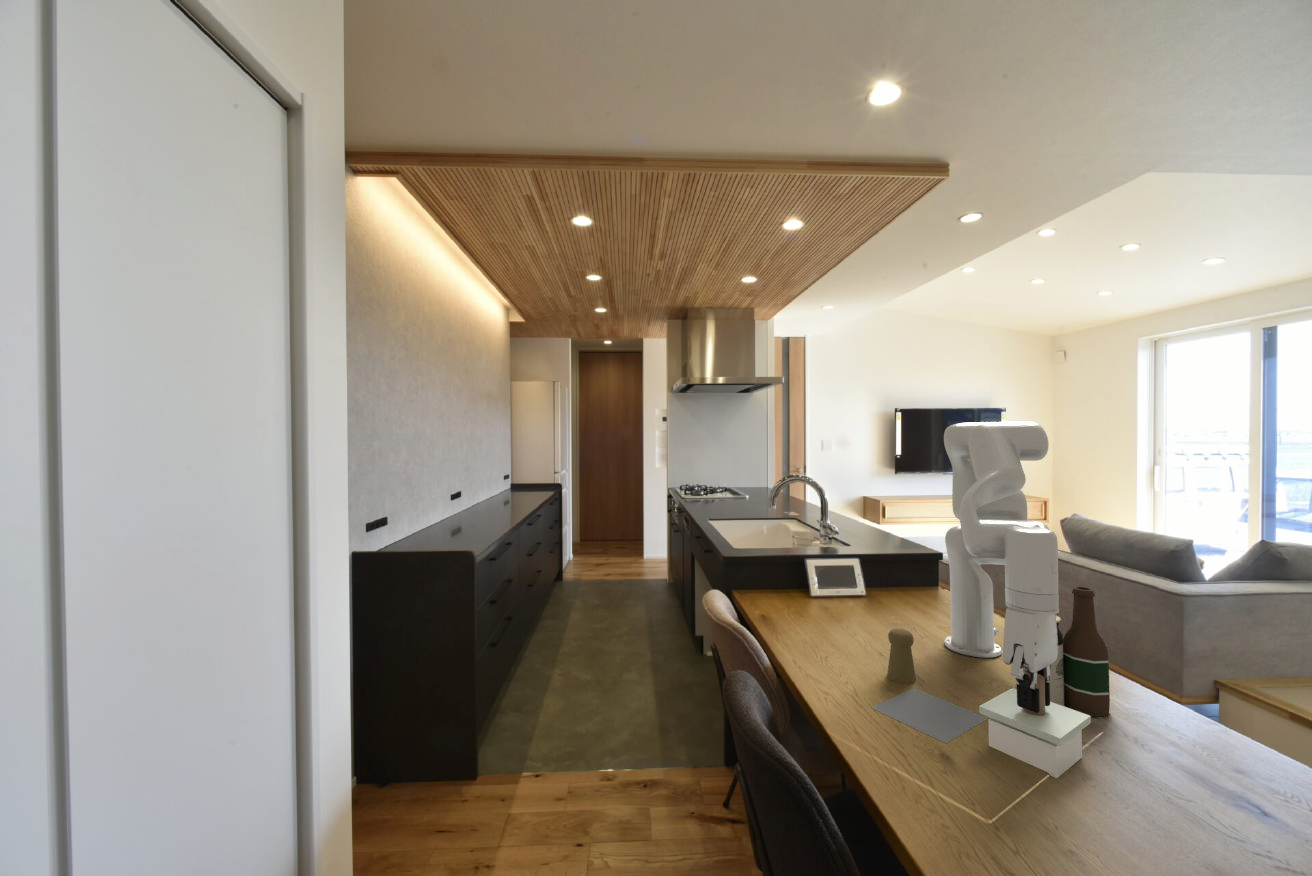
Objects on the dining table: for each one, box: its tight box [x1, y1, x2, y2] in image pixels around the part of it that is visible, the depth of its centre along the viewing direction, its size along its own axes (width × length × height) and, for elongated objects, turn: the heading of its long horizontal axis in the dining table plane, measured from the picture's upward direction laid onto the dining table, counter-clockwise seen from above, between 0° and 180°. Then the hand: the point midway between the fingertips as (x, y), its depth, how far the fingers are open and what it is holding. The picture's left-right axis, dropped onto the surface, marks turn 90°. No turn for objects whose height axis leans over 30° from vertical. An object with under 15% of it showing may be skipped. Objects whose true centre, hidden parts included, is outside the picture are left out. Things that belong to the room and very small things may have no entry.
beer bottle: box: [1063, 586, 1111, 719], centre depth 104 cm, size 8×8×24 cm
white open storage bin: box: [987, 717, 1083, 779], centre depth 90 cm, size 10×10×5 cm
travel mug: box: [1014, 614, 1065, 707], centre depth 106 cm, size 8×8×18 cm
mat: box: [870, 687, 990, 744], centre depth 102 cm, size 15×15×1 cm
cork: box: [886, 628, 917, 685], centre depth 118 cm, size 6×6×11 cm
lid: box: [978, 672, 1092, 746], centre depth 90 cm, size 12×12×7 cm
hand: (1033, 704), depth 90 cm, fingers closed on lid, 3 cm apart
